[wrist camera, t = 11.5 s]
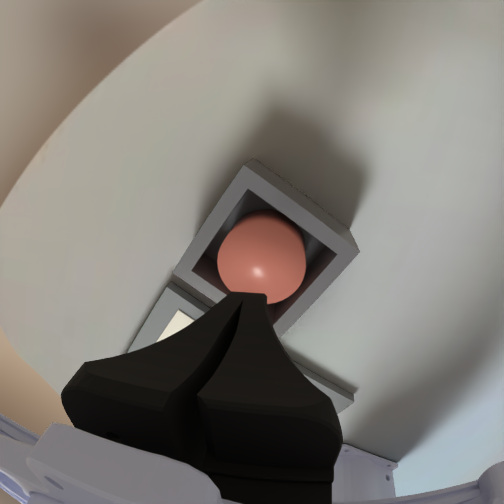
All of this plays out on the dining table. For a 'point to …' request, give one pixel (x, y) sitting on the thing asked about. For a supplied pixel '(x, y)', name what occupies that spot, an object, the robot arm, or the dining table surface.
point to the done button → (263, 255)
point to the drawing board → (189, 309)
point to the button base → (294, 207)
